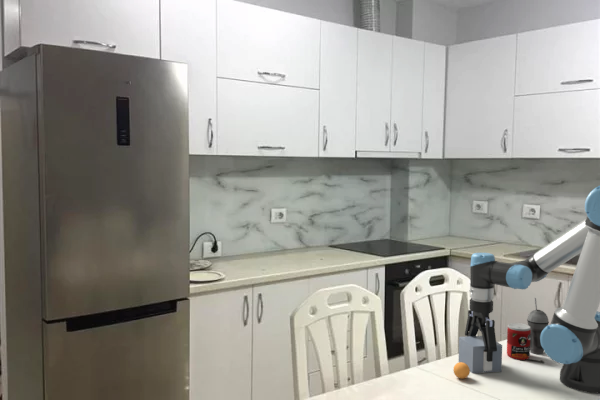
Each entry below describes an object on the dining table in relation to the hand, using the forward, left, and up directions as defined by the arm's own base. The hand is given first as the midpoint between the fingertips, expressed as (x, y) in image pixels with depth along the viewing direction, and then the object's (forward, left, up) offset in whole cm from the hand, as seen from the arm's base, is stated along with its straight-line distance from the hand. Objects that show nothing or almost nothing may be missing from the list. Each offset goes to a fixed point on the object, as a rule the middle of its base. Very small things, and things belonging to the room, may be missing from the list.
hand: (479, 364), depth 183 cm
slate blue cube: (0, 0, -1) cm, 1 cm away
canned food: (-16, -12, -1) cm, 20 cm away
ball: (+8, +11, +2) cm, 14 cm away
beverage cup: (-24, -17, -1) cm, 29 cm away
